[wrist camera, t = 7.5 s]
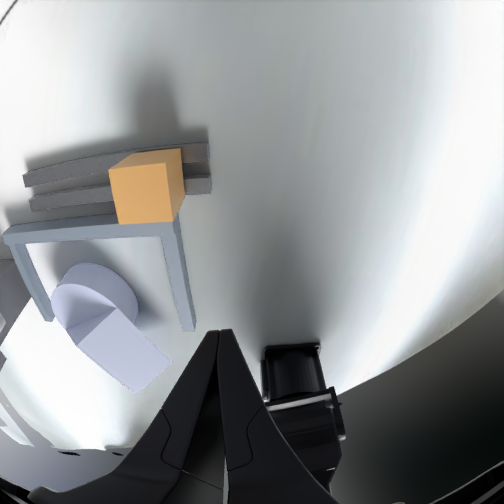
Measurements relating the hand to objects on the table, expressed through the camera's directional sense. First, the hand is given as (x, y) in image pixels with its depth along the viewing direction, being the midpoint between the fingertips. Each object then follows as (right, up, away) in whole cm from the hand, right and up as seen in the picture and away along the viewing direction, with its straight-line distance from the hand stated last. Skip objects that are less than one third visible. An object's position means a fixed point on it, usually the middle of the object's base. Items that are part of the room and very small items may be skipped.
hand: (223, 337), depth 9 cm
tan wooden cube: (-6, +9, +10) cm, 14 cm away
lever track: (-11, +9, +10) cm, 17 cm away
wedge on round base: (-14, -3, +18) cm, 23 cm away
